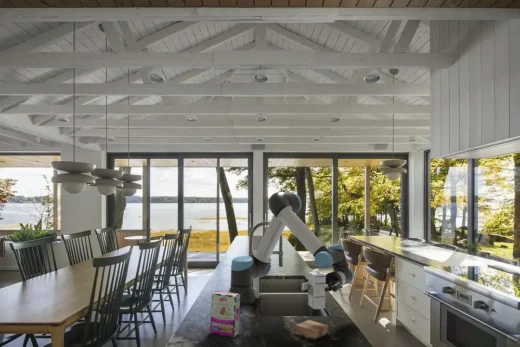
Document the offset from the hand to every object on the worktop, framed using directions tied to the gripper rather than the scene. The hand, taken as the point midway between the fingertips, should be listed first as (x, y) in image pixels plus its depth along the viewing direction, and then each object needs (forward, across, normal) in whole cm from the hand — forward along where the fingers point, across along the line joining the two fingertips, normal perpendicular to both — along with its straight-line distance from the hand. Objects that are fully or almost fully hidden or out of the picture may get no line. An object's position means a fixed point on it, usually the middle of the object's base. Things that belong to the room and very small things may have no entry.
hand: (311, 288), depth 152 cm
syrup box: (-5, 0, -9) cm, 10 cm away
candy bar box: (+22, +28, -20) cm, 41 cm away
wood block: (-2, 0, -20) cm, 20 cm away
